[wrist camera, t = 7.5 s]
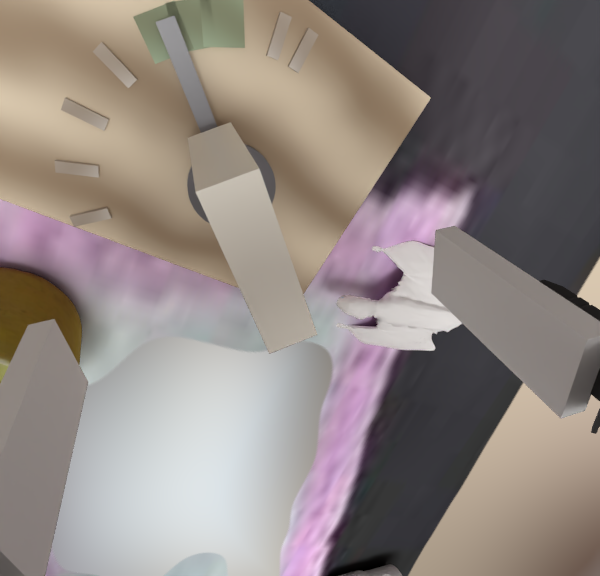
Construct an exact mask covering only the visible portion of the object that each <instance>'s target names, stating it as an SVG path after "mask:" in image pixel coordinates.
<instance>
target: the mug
mask: <svg viewBox="0 0 600 576" xmlns="http://www.w3.org/2000/svg"><path fill="white" fill-rule="evenodd" d="M52 319H55V321H56V323H57V325H58V327H59V328H60V330H61V332H62V334H63V336H64V338H65V340H66V342H67V343H68V345H69V347H70V349H71V351H72V353H73V355H74V357H75V358H76V360H77V362H78V364H79V362H80V350H81V338H82V325H81V321H80V317H79V315H78V312H77V310H76V308H75V306H74V304H73V303H72V302H71V300H70V299H69V298H68V297H67V296H66V295H65V294H64V293H63V292H62V291H61V290H60V289H58V288H57V287H56V286H54V285H53V284H52V283H50V282H49V281H47V280H46V279H44V278H42V277H40V276H37V275H35V274H32V273H29V272H23V271H20V270H17V269H13V268H4V267H0V383H1V381H2V379H3V377H4V375H5V373H6V371H7V368H8V366H9V364H10V362H11V360H12V358H13V356H14V354H15V352H16V349H17V347H18V345H19V343H20V341H21V339H22V337H23V335H24V333H25V330H26V328H27V326H28V325H30V324H34V323H39V322H43V321H47V320H52Z"/></svg>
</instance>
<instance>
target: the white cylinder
mask: <svg viewBox="0 0 600 576" xmlns="http://www.w3.org/2000/svg"><path fill="white" fill-rule="evenodd" d="M338 576H402V575H401V573H400V571H399V570H398V569H397V568H396V567H395V566H394V565H391V564H389V565H385V566H381V567H378V568H374V569H371V570H367V571H361V570H357V571H353V572H349V573H346V574H342V575H338Z"/></svg>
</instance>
